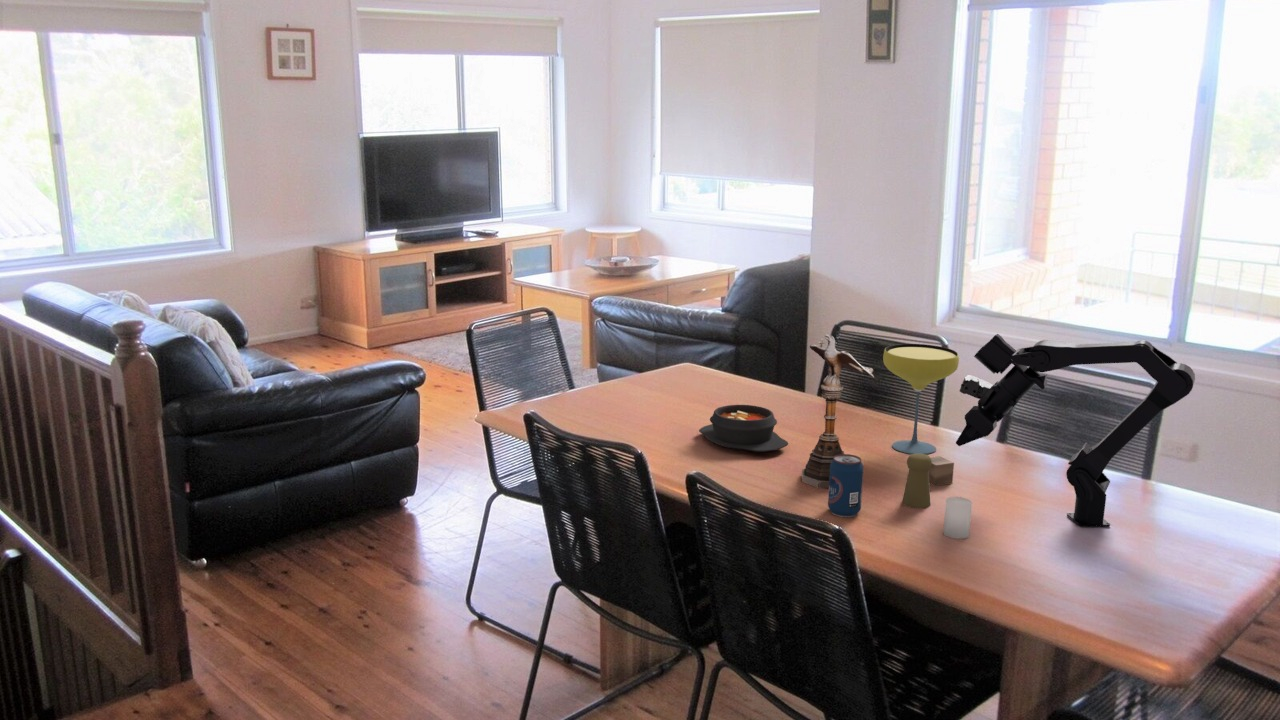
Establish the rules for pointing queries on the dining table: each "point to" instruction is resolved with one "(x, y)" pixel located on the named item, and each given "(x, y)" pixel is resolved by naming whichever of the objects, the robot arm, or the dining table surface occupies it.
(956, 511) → the off-white cylinder
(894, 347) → the cocktail glass
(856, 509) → the soda can
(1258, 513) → the dining table surface
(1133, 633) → the dining table surface
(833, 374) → the bird statue
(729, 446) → the casserole
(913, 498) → the cork
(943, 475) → the walnut block
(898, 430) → the dining table surface
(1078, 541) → the dining table surface
